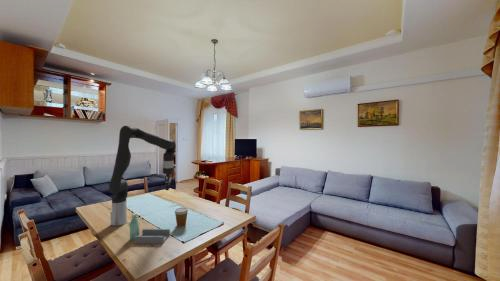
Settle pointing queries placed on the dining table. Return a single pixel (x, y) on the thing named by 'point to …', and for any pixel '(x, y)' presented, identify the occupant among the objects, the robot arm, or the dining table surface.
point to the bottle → (134, 227)
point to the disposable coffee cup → (181, 216)
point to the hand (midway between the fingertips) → (167, 188)
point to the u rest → (152, 236)
